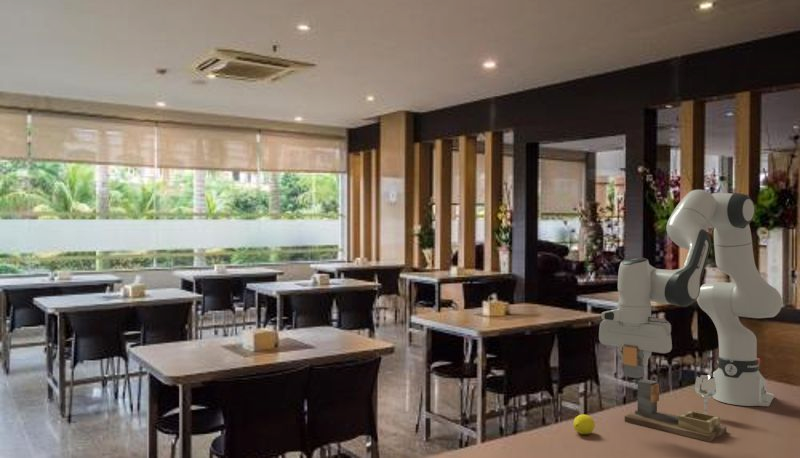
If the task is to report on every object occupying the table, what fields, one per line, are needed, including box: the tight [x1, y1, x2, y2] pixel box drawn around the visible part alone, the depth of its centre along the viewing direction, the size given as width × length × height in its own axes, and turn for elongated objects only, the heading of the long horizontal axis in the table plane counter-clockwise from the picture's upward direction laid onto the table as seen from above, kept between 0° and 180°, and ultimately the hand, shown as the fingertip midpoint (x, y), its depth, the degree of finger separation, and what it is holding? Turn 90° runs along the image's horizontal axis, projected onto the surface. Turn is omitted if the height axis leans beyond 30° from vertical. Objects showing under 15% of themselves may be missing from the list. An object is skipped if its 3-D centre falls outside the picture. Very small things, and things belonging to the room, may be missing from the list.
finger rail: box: [624, 378, 727, 443], centre depth 179 cm, size 12×24×12 cm, turn 42°
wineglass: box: [694, 374, 716, 414], centre depth 189 cm, size 6×6×12 cm
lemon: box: [572, 414, 595, 435], centre depth 172 cm, size 7×5×5 cm
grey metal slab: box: [622, 344, 645, 379], centre depth 175 cm, size 5×4×9 cm
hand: (634, 364), depth 175 cm, fingers closed on grey metal slab, 4 cm apart
